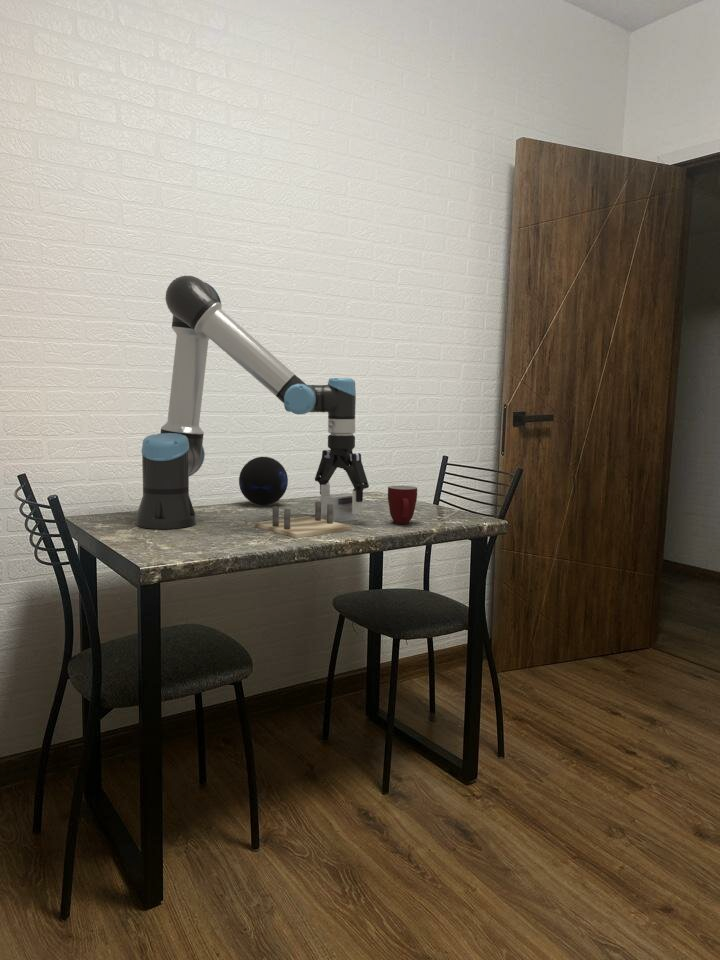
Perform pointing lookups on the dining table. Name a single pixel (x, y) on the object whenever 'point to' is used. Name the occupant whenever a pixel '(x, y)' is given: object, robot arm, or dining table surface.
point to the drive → (338, 507)
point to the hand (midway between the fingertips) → (340, 510)
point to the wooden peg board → (303, 523)
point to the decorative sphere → (263, 481)
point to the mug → (402, 503)
